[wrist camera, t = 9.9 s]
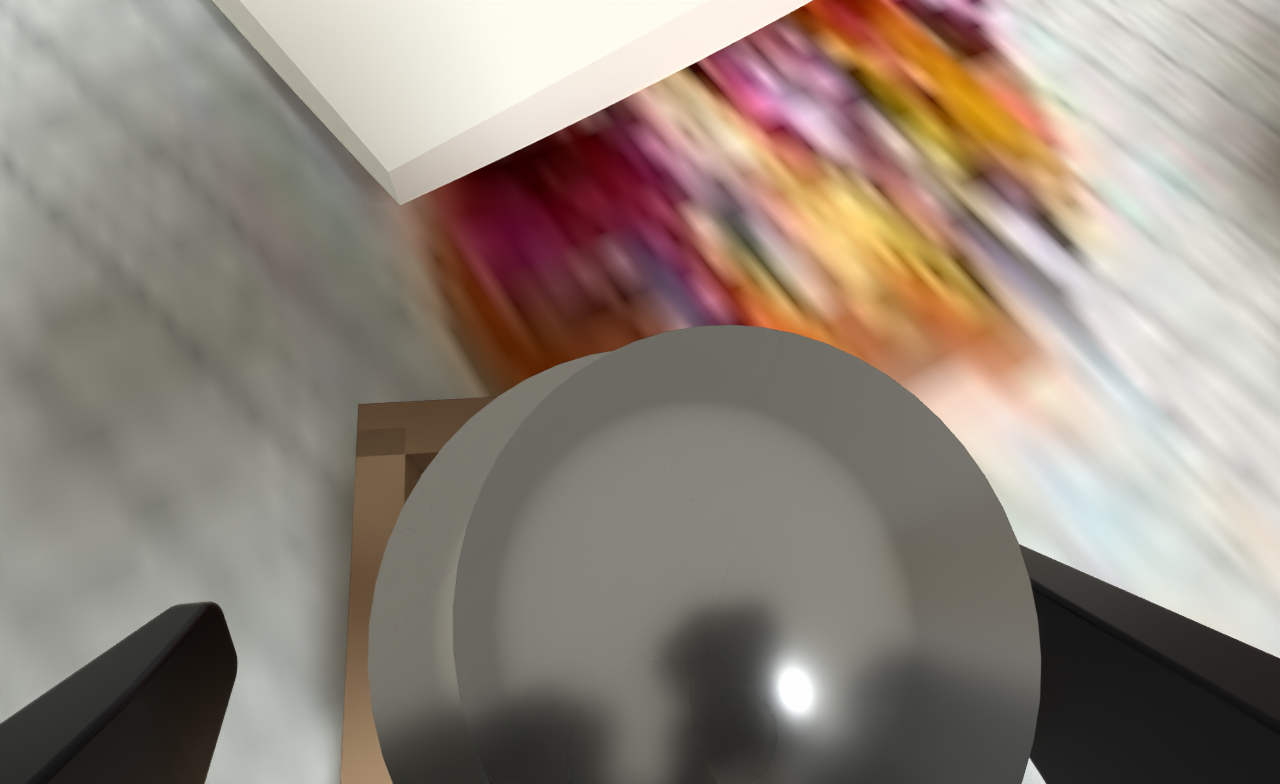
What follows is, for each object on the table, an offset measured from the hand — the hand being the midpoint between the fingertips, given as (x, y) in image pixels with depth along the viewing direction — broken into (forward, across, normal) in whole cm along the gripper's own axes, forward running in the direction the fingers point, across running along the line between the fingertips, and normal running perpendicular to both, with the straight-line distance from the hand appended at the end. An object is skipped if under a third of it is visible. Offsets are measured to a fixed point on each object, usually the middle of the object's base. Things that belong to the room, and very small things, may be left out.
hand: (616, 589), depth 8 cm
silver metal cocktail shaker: (+5, 0, +5) cm, 7 cm away
